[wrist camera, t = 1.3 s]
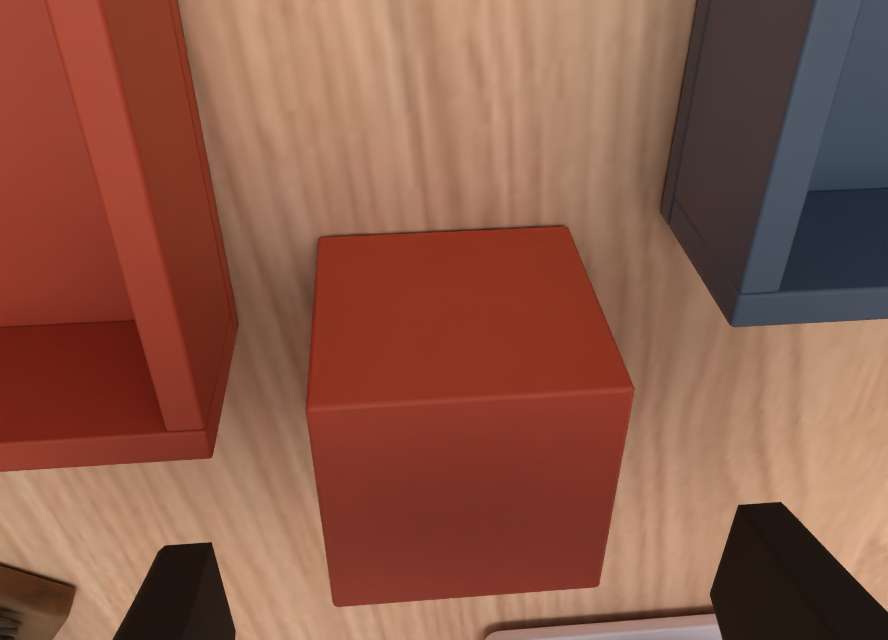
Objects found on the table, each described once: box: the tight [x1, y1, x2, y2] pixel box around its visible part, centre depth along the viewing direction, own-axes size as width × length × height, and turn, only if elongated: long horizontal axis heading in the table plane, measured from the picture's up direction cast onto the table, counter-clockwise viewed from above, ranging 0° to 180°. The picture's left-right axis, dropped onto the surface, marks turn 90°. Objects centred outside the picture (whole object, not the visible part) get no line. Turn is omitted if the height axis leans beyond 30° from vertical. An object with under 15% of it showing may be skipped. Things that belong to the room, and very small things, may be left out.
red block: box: [306, 226, 634, 607], centre depth 14 cm, size 4×4×4 cm
